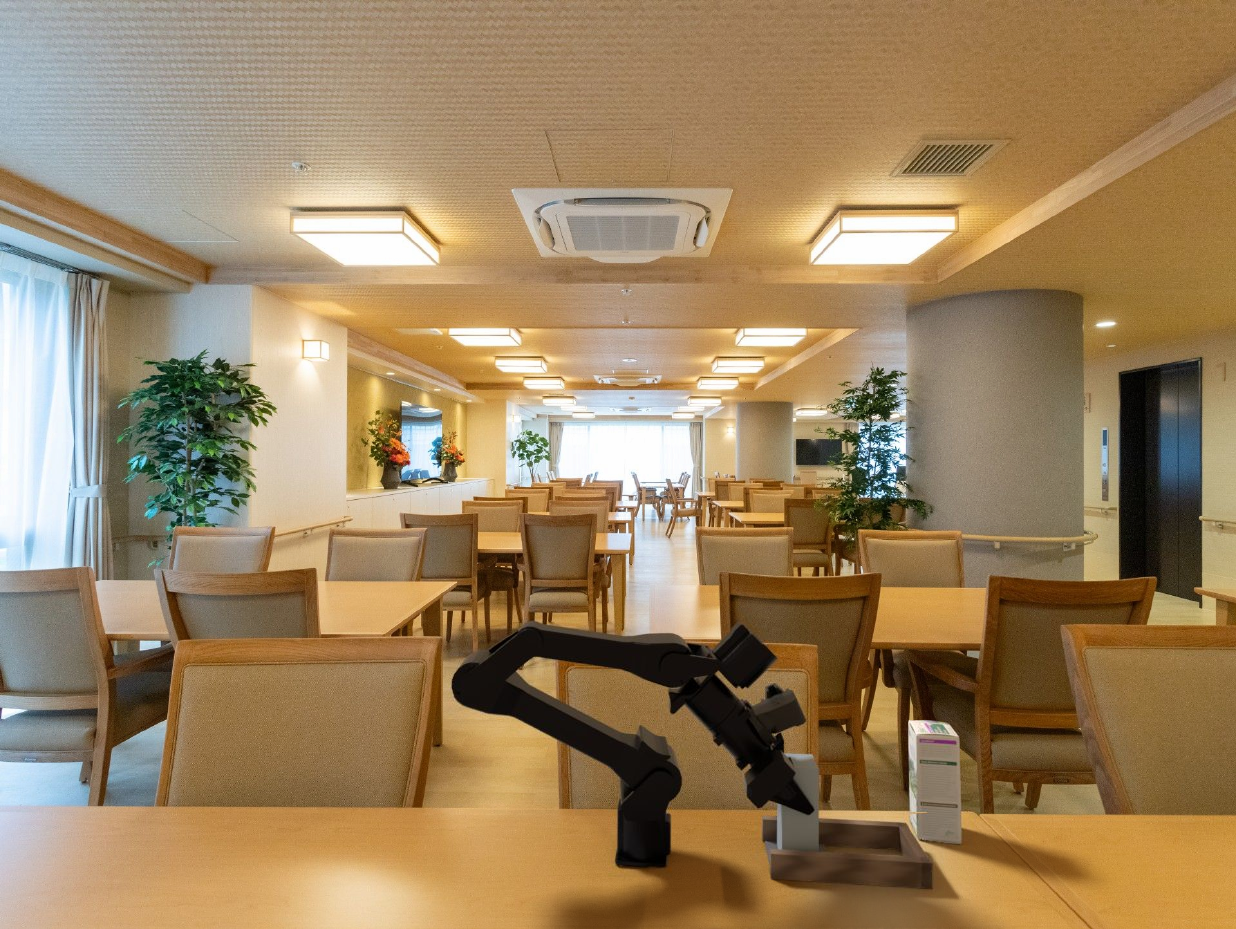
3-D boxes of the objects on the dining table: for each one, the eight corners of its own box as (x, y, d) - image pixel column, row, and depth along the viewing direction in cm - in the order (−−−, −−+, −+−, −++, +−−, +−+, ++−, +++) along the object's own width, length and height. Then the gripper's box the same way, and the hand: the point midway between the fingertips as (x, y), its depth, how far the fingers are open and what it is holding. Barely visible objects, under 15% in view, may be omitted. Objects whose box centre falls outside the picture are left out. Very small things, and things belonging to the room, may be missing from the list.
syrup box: (963, 845, 93) (962, 735, 93) (916, 840, 94) (915, 732, 94) (951, 824, 98) (951, 721, 99) (907, 820, 99) (907, 718, 100)
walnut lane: (770, 878, 84) (770, 853, 84) (761, 837, 94) (761, 815, 94) (932, 888, 83) (932, 863, 83) (906, 845, 92) (906, 822, 92)
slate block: (781, 863, 87) (782, 766, 87) (776, 844, 91) (777, 752, 92) (818, 865, 86) (818, 768, 87) (811, 846, 91) (812, 754, 91)
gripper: (776, 692, 81) (874, 793, 79) (759, 653, 99) (838, 734, 98) (708, 757, 81) (803, 859, 80) (703, 706, 100) (781, 787, 98)
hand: (808, 803), depth 89 cm, fingers closed on slate block, 4 cm apart
